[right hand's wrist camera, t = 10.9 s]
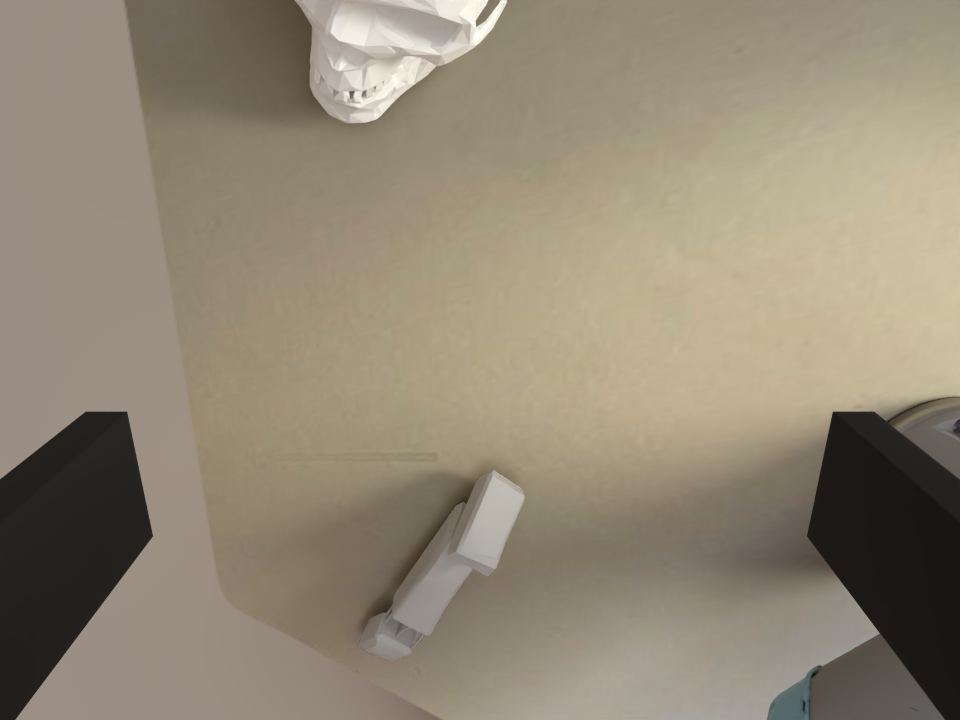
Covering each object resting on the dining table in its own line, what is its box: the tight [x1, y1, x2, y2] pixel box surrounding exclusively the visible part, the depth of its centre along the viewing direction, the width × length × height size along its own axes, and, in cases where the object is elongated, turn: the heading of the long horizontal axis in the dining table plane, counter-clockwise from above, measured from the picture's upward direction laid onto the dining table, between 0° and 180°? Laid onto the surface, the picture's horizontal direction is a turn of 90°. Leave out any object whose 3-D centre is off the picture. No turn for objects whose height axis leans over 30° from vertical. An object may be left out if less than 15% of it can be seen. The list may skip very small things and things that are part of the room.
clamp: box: [359, 470, 525, 662], centre depth 53 cm, size 20×4×7 cm, turn 147°
